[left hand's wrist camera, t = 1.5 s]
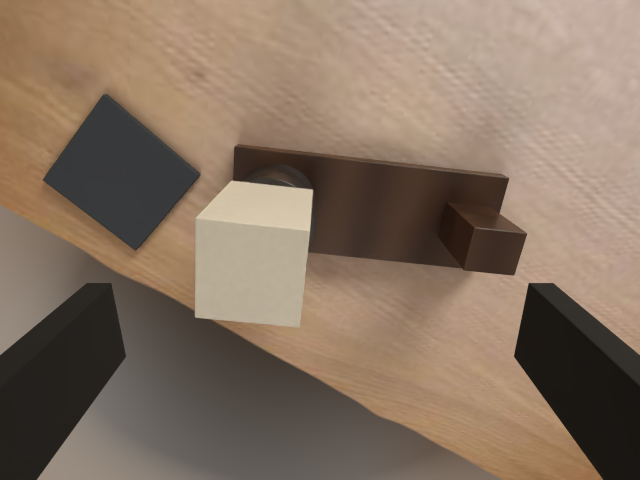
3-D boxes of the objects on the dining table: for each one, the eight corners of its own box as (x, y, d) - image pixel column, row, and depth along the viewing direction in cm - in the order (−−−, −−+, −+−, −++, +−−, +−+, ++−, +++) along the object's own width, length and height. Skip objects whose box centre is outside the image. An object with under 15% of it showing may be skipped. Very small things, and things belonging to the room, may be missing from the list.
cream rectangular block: (228, 256, 31) (194, 318, 23) (230, 180, 29) (194, 217, 21) (305, 264, 32) (299, 328, 23) (313, 189, 29) (310, 230, 21)
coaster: (46, 178, 37) (42, 180, 36) (107, 93, 34) (103, 94, 34) (138, 248, 39) (135, 250, 39) (201, 174, 37) (199, 175, 36)
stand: (233, 238, 39) (211, 277, 31) (237, 144, 36) (214, 160, 28) (477, 264, 40) (517, 308, 32) (502, 174, 37) (552, 198, 29)
